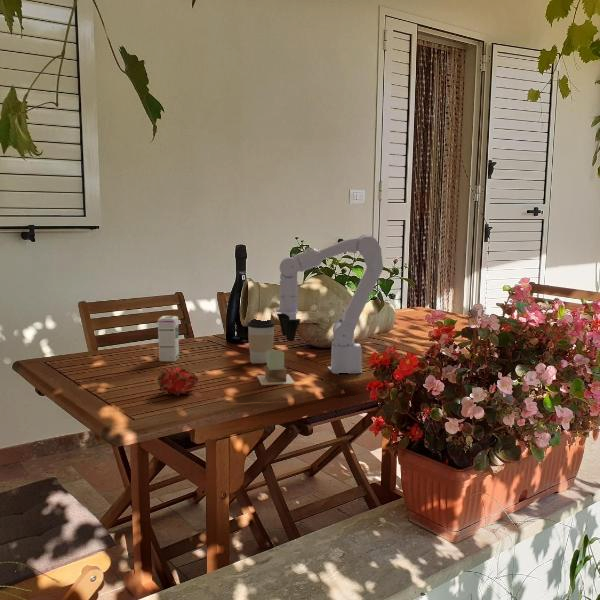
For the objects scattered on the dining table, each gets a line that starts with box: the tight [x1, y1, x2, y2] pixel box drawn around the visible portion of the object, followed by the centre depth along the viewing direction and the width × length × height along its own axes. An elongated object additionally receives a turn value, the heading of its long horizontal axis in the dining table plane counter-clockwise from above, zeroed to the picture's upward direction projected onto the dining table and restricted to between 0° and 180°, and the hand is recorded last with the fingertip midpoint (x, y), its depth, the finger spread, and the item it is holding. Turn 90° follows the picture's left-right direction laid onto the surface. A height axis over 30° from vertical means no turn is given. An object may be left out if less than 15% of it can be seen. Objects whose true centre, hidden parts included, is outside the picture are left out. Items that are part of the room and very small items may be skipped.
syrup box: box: [157, 315, 180, 362], centre depth 218 cm, size 6×6×14 cm
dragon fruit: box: [156, 366, 199, 397], centre depth 181 cm, size 8×8×12 cm
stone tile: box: [256, 373, 296, 386], centre depth 196 cm, size 10×10×1 cm
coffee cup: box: [247, 319, 276, 364], centre depth 217 cm, size 9×9×15 cm
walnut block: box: [264, 365, 287, 382], centre depth 195 cm, size 6×6×4 cm
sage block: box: [266, 349, 285, 370], centre depth 195 cm, size 4×4×5 cm
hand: (288, 338), depth 207 cm, fingers open, 7 cm apart
